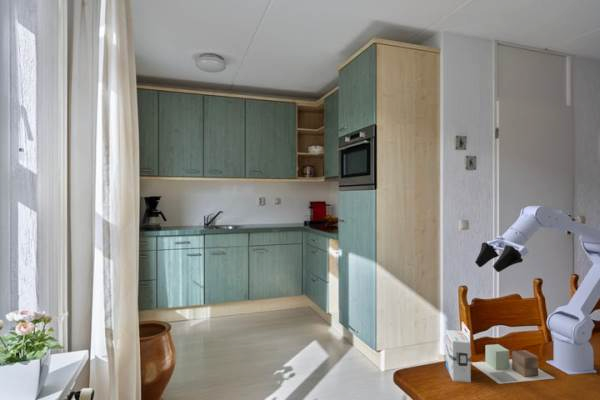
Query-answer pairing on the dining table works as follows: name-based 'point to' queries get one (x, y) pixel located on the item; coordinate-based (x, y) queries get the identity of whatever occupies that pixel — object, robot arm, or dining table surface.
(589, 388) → the dining table surface
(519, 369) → the walnut block
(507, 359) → the sage block
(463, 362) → the ink box
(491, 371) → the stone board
